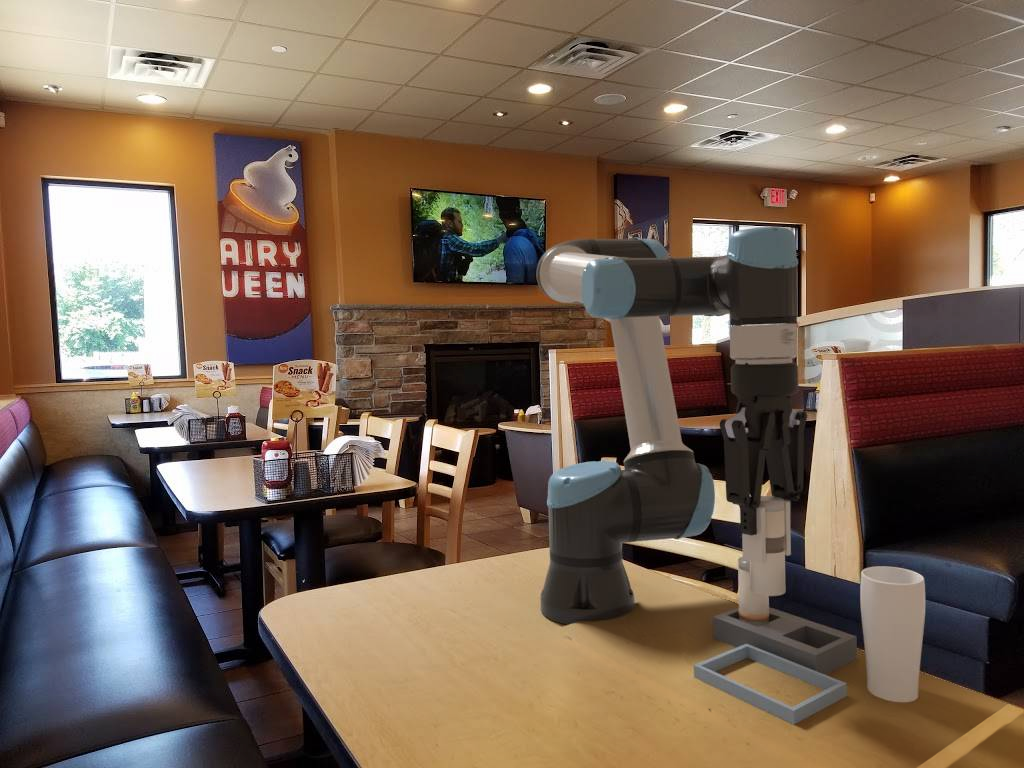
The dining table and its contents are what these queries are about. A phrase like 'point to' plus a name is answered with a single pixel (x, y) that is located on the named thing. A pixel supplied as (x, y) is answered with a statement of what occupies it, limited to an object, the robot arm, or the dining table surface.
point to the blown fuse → (771, 551)
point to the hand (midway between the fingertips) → (766, 556)
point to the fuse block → (789, 639)
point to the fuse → (750, 598)
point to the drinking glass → (892, 630)
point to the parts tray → (795, 714)
